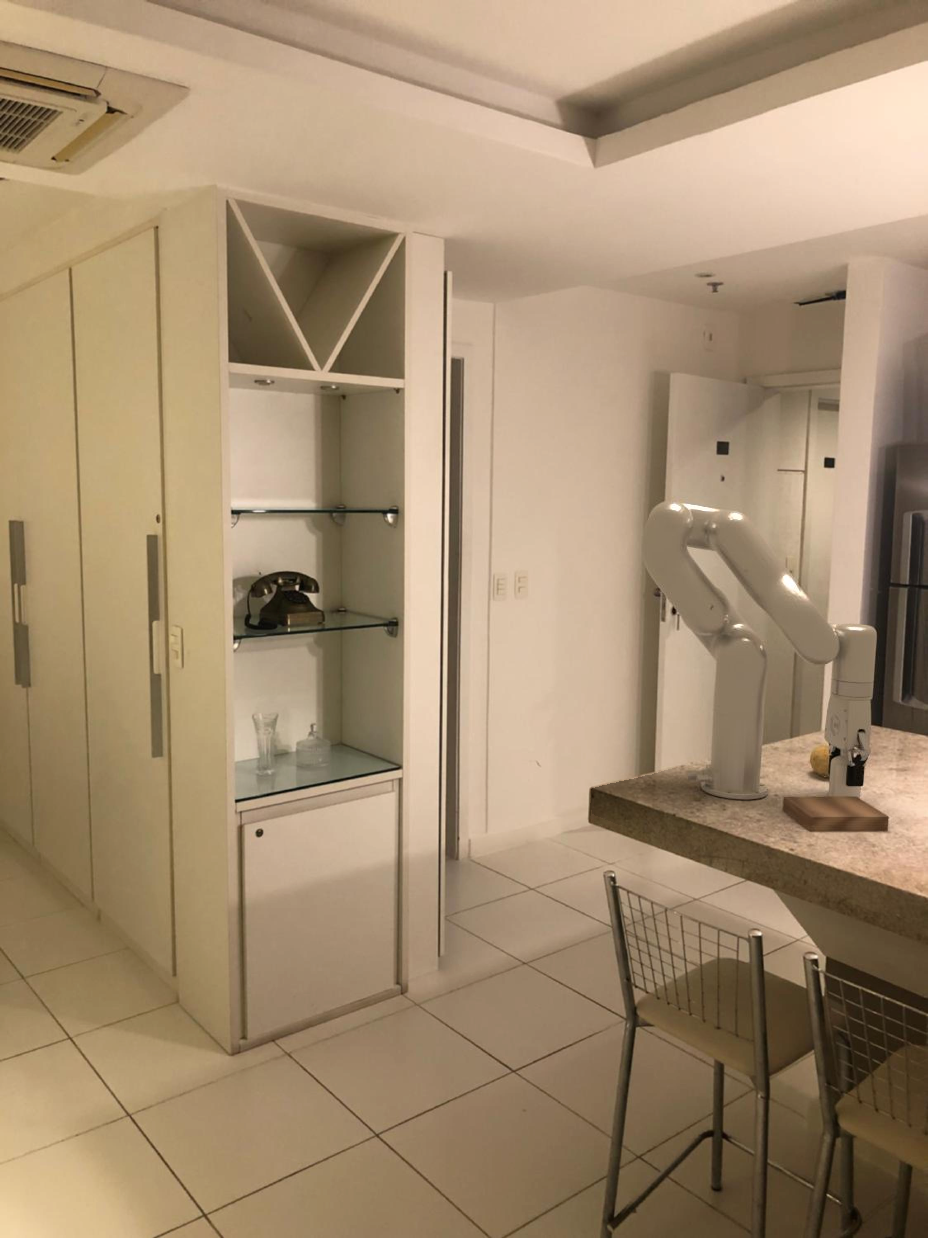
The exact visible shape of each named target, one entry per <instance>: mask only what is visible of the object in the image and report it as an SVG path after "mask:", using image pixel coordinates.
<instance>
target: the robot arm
mask: <svg viewBox="0 0 928 1238" xmlns="http://www.w3.org/2000/svg"><path fill="white" fill-rule="evenodd" d="M645 523H646V524H645V526H644V530H643V531H642V532H643V533H642V537H641V546H640V547H641V556H642V560H643V564H644V566H645V568H646V570H647V572H648V574H649V576H650V577H651V579H652V580H653V581H654V583H655V585H656V587H658V588H659V589H660V591H661V592H662V594H664V596H665V598H666V599H667V600H668V601H669V603H670V605H672V607H673V608H674V610H676V612H677V613H678V615H679V616H680V617H681V620H682V622H683V624H685V626H686V627H687V628H688V629H689V630H690V631H691V632H692V633H693V634H694V636H695V637H696V638H697V639H698V640H699V642H700V643H701V644H702V645H703V647H704V648H705V649H706V650H707V651H708V652H709V654H710V655H711V656H712V657H713V659H714V660H715V662H716V664H715V680H714V692H713V706H712V713H713V714H712V717H713V718H712V727H711V728H712V730H711V731H712V732H711V750H710V751H711V752H710V764H705V768H701V770H696V769H686V770H685V774H684V776H685V780H687V781H695V782H696V783H701V784H700V788H701V789H702V791H704V792H705V793H708V794H710V795H712V796H715V797H719V798H720V797H721V798H723V799H724V798H726V799H733V800H756V799H757V800H758V799H761V798H762V799H763V798H764V797H766V796H767V795H768V789H769V788H768V786H767V785H765V784H763V783H762V782H761V770H762V767H761V766H762V753H763V738H764V737H763V735H764V718H765V702H766V701H765V698H766V688H767V681H768V675H769V667H770V666H769V664H770V661H769V660H770V659H769V658H770V657H769V652H768V648H767V645H766V644H765V642H764V640H763V639H762V638H761V637H760V636H759V635H758V634H756V632H755V631H754V630H753V628H751V626H750V625H749V624H748V623H747V621H745V619H744V618H743V616H741V614H740V613H739V612H738V610H737V609H736V608H735V606H734V605H733V604H732V603H731V602H730V600H729V599H728V598H727V596H726V594H724V593H723V591H722V590H720V589H719V588H718V587H716V585H714V584H713V582H712V581H711V580H710V579H709V577H708V576H707V575H706V574H705V572H704V571H703V570H702V569H701V568H700V566H699V565H698V563H697V562H696V561H695V560H694V558H693V556H691V554H690V552H689V549H688V548H692V549H693V548H694V549H699V550H703V551H713V552H716V554H717V555H718V556H719V557H720V558H721V560H722V561H723V562H724V564H725V565H726V566H727V568H728V569H729V570H730V571H731V574H733V576H734V577H735V578H736V580H738V583H740V584H741V586H742V588H743V589H744V590H745V591H746V593H747V594H748V595H749V597H750V598H751V599H752V600H753V601H754V602H755V604H756V605H758V606H759V607H760V608H761V609H762V610H763V611H764V612H765V613H766V614H767V615H768V616H769V617H770V618H771V620H772V621H773V622H774V623H775V624H776V625H777V626H778V628H779V629H780V631H781V632H782V633H783V634H784V636H785V637H786V638H787V640H788V641H789V644H790V647H791V648H792V650H793V652H794V653H795V654H797V656H799V657H800V658H801V659H802V660H803V661H804V662H806V663H807V664H809V665H813V666H825V665H828V664H830V663H831V681H830V693H829V694H830V695H829V698H828V699H829V700H828V704H827V710H826V716H825V718H826V719H825V724H824V725H825V726H824V736H823V737H824V740H825V741H826V743H827V744H828V746H830V747H829V754H832V755H829V768H828V774H829V775H830V768H831V760H832V759H833V758H835V757H837V756H840V755H841V754H840V753H841V750H842V751H848V757H849V764H850V765H847V774H846V785H847V786H861V787H863V786H864V782H865V781H864V780H865V768H866V766H867V761H868V759H869V756H870V755H871V753H872V750H871V746H870V745H871V735H872V733H871V732H872V731H871V730H872V709H871V708H872V707H871V700H872V699H873V694H874V681H875V678H874V677H875V667H876V666H875V665H876V651H877V640H878V639H877V637H878V635H877V630H876V629H875V628H874V627H873V626H872V625H867V624H860V623H842V624H840V623H839V624H838V623H830V622H828V621H827V620H826V618H825V617H824V616H823V614H822V613H821V611H820V610H819V609H818V608H817V607H816V605H815V604H814V603H813V601H812V600H811V599H810V598H809V596H808V595H807V594H806V592H804V590H803V588H801V586H800V585H799V583H798V581H797V580H796V578H794V576H793V575H792V573H791V571H789V569H788V568H787V567H786V565H785V564H784V563H783V561H781V559H780V558H779V556H778V555H777V553H776V552H775V551H774V550H773V548H772V547H771V546H770V544H769V543H768V541H767V540H765V537H764V536H763V535H762V534H761V533H760V531H759V530H758V529H757V528H756V526H755V525H754V524H753V521H751V520H750V518H748V516H747V515H746V514H744V513H743V512H740V511H737V510H732V509H731V510H730V509H721V508H713V507H706V506H701V505H695V504H689V503H684V502H680V501H677V500H666V501H661V502H660V503H658V504H657V505H655V506H654V507H653V508H652V509H651V511H650V512H649V515H648V519H647V521H646V522H645ZM853 747H854V749H852V748H853ZM853 753H854V754H853ZM855 754H856V755H855ZM854 755H855V756H854ZM854 757H855V758H854Z"/></svg>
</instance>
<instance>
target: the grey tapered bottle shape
mask: <svg viewBox="0 0 928 1238" xmlns="http://www.w3.org/2000/svg"><path fill="white" fill-rule="evenodd" d="M852 749H855V747H853V748H852ZM840 754H841V755H840V756H837V757H835V758H833V759H832V760H831V768H830V778H829V785H828V797H858V798H860V799H861V789H862V786H847V785H846V774H847V765H850V764H849V757H848V751H842V750H841V753H840ZM853 754H854V755H855V753H853ZM855 757H856V756H854V758H855Z"/></svg>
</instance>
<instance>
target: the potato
mask: <svg viewBox="0 0 928 1238" xmlns="http://www.w3.org/2000/svg"><path fill="white" fill-rule="evenodd" d="M829 747H830V746H829V744H828V745H826V744H825V745H819V746H817V747H815V748H814V749H813V750H812V752H811V753H810V756H809V763H810V766H811V769H813V770H814V771H815V772H816V773H817V774H818V775H820V776H822V777H825V778H828V779H830V775H829V774H828V768H829V755H832V754H829Z"/></svg>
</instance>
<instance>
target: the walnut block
mask: <svg viewBox="0 0 928 1238" xmlns="http://www.w3.org/2000/svg"><path fill="white" fill-rule="evenodd" d="M782 811H783V812H784V813H785V814H787V815H788V816H790V817H791V818H792V819H794V820H795V821H796V822H797V823H799V824H800V825H801V826H803V827H804V828H805V829H807V830H808V831H809V832H853V831H854V832H857V831H858V832H864V831H865V832H866V831H867V832H868V831H869V832H871V831H872V832H875V831H876V832H877V831H880V832H882V831H885V832H886V831H887V832H888V831H889V821H890V820H889V818H890V817H889V816H888V815H887V814H885V813H884V812H882V811H880V810H879V809H878V808H876V807H874V806H872V805H871V804H869V803H867V801H864V800H863V799H861V797H860V798H858V797H829V796H783V799H782Z"/></svg>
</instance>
